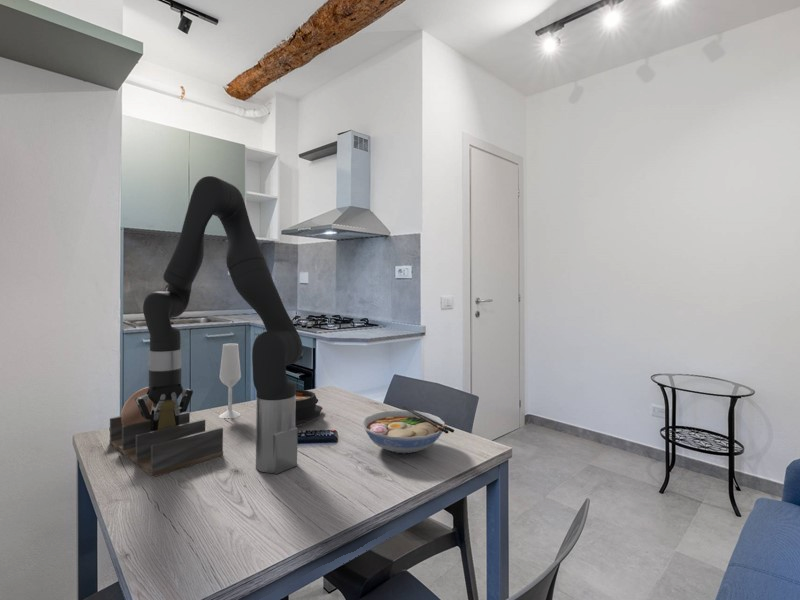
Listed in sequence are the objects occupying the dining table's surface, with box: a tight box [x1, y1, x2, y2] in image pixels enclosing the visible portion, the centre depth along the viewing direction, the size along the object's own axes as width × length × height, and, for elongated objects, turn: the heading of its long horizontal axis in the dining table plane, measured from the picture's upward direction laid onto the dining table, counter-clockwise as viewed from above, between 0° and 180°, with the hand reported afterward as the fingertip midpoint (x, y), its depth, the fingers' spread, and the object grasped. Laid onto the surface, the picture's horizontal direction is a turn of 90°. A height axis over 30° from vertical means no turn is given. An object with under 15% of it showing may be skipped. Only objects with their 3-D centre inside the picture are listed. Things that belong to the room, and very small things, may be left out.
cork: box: [154, 399, 176, 430], centre depth 108 cm, size 6×6×11 cm
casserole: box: [295, 389, 323, 426], centre depth 134 cm, size 25×19×8 cm
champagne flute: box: [218, 342, 242, 420], centre depth 137 cm, size 7×7×24 cm
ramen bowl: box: [361, 405, 455, 455], centre depth 112 cm, size 25×23×8 cm
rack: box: [109, 386, 224, 478], centre depth 108 cm, size 30×16×15 cm, turn 51°
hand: (165, 430), depth 108 cm, fingers closed on cork, 3 cm apart
